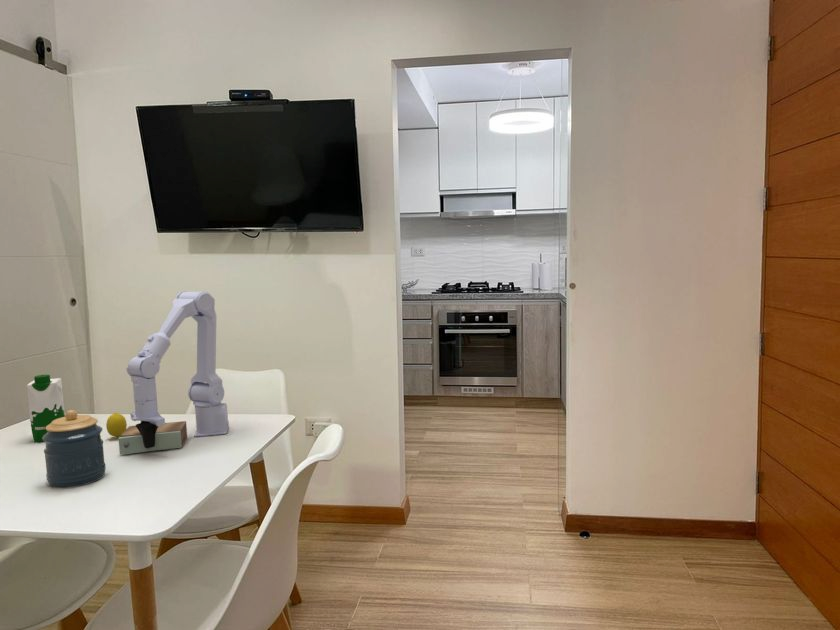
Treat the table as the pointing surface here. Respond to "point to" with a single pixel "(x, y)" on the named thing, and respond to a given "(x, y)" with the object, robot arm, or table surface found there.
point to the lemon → (116, 425)
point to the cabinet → (161, 430)
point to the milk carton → (44, 404)
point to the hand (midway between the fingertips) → (149, 447)
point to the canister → (73, 451)
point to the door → (161, 442)
